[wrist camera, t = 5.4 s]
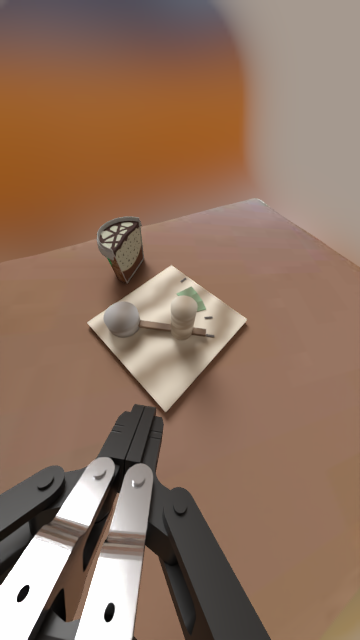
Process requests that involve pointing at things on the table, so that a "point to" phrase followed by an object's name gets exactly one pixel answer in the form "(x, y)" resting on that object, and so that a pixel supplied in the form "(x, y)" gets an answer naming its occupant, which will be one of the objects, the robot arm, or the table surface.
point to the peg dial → (127, 322)
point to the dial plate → (170, 336)
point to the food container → (122, 245)
